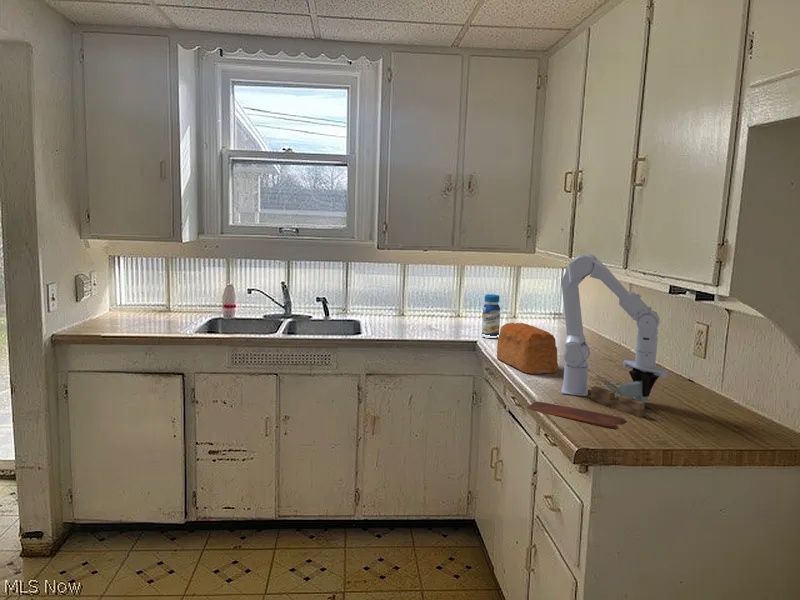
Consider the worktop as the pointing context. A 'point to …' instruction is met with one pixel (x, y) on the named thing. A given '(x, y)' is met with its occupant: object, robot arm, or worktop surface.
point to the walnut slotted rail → (618, 401)
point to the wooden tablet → (578, 414)
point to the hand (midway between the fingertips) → (642, 395)
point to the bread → (527, 348)
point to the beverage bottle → (491, 315)
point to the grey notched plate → (633, 390)
